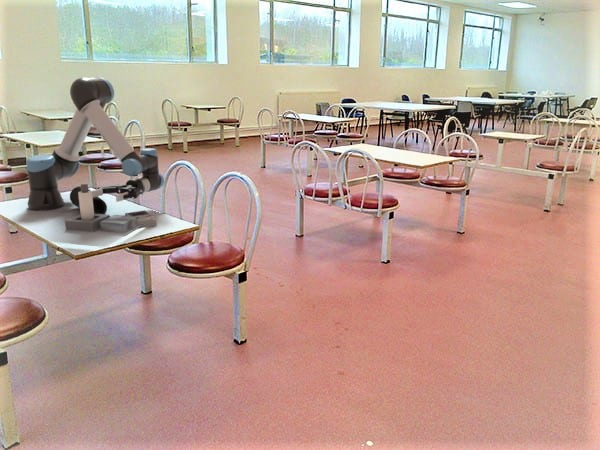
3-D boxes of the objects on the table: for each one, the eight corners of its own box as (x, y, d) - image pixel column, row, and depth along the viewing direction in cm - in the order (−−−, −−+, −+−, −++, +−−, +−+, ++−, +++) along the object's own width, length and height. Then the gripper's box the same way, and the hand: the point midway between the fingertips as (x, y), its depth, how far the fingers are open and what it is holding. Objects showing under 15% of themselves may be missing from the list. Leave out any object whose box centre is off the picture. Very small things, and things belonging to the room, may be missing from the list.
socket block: (84, 224, 216) (83, 212, 214) (110, 226, 213) (109, 214, 212) (66, 232, 204) (64, 220, 203) (93, 235, 202) (92, 223, 200)
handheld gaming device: (136, 229, 211) (136, 220, 210) (125, 221, 222) (124, 212, 221) (157, 226, 216) (157, 217, 215) (145, 218, 227) (145, 209, 226)
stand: (115, 226, 213) (114, 215, 211) (137, 228, 211) (136, 217, 209) (101, 234, 203) (100, 221, 202) (124, 236, 201) (123, 223, 200)
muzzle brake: (85, 223, 218) (83, 199, 215) (69, 208, 239) (67, 186, 236) (108, 219, 223) (106, 196, 220) (91, 205, 245) (89, 184, 242)
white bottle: (86, 223, 211) (82, 183, 206) (97, 224, 210) (93, 183, 205) (79, 227, 206) (74, 185, 202) (90, 228, 205) (86, 186, 201)
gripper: (160, 197, 230) (128, 209, 211) (115, 191, 239) (81, 201, 220) (160, 181, 227) (127, 191, 209) (114, 175, 236) (79, 184, 217)
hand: (103, 196), depth 214 cm, fingers open, 13 cm apart
